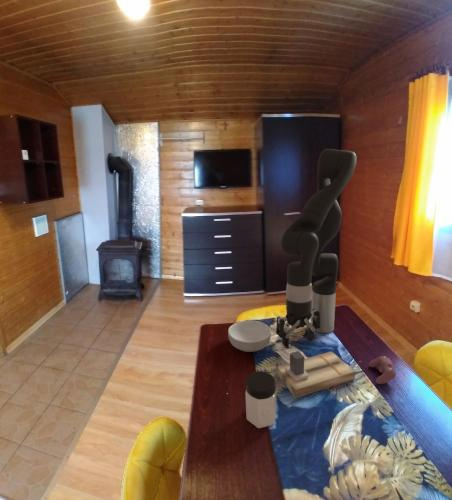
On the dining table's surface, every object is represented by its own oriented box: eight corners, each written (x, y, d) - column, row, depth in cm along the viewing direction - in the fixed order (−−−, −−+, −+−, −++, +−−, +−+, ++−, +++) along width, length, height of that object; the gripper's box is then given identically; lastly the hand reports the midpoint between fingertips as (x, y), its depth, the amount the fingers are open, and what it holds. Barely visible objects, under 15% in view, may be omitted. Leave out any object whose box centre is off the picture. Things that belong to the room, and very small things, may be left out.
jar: (250, 431, 82) (249, 394, 79) (242, 408, 90) (241, 374, 86) (281, 423, 84) (281, 387, 81) (271, 402, 91) (270, 368, 88)
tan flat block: (277, 373, 104) (277, 366, 103) (331, 358, 110) (331, 350, 109) (295, 398, 93) (295, 389, 92) (354, 379, 99) (355, 371, 98)
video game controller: (388, 390, 96) (401, 374, 94) (374, 383, 96) (387, 367, 94) (379, 369, 105) (390, 355, 103) (367, 363, 106) (378, 348, 103)
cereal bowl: (280, 348, 118) (280, 331, 116) (246, 364, 109) (245, 347, 107) (252, 330, 132) (252, 315, 130) (220, 343, 123) (219, 328, 121)
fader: (285, 369, 100) (285, 351, 99) (298, 366, 102) (298, 348, 100) (294, 381, 95) (295, 362, 93) (308, 377, 96) (309, 358, 95)
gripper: (311, 288, 97) (310, 333, 101) (271, 296, 92) (272, 343, 96) (326, 296, 90) (324, 345, 94) (284, 305, 85) (284, 356, 90)
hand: (298, 344), depth 95 cm, fingers open, 8 cm apart
